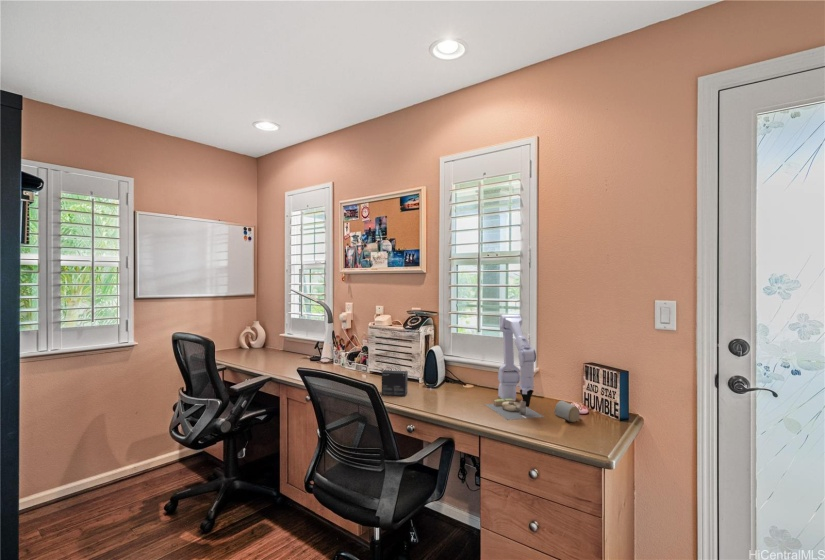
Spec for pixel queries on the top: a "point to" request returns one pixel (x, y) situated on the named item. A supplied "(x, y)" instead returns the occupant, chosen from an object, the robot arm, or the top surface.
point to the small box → (394, 383)
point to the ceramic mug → (567, 411)
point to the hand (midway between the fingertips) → (526, 406)
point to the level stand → (512, 414)
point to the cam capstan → (515, 406)
